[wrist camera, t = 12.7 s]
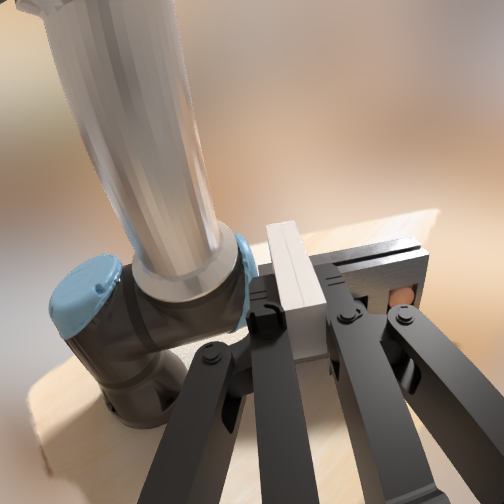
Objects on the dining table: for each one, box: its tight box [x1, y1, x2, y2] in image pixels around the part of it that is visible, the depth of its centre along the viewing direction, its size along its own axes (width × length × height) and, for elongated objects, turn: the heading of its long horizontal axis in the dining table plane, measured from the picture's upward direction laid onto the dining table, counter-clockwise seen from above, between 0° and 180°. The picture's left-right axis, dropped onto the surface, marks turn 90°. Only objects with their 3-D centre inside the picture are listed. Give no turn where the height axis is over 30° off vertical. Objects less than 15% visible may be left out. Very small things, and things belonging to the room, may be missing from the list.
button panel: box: [258, 236, 429, 364], centre depth 42 cm, size 23×5×16 cm, turn 93°
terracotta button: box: [388, 286, 414, 308], centre depth 40 cm, size 4×2×4 cm, turn 93°
